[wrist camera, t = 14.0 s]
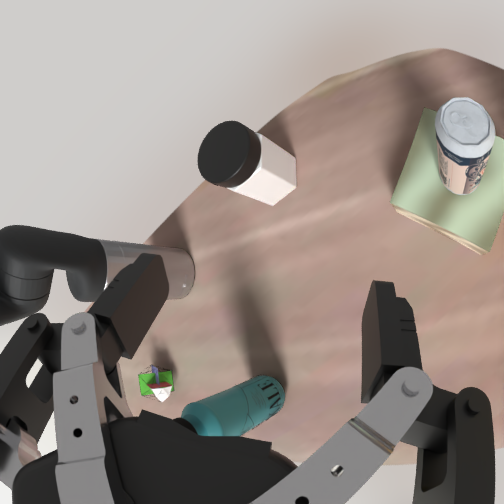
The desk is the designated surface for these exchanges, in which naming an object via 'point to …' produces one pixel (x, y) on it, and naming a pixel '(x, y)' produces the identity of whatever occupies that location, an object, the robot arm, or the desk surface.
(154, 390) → the geometric puzzle
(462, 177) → the beer can
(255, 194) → the jar
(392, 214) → the desk surface
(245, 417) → the beverage bottle
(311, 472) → the robot arm
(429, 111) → the pedestal
